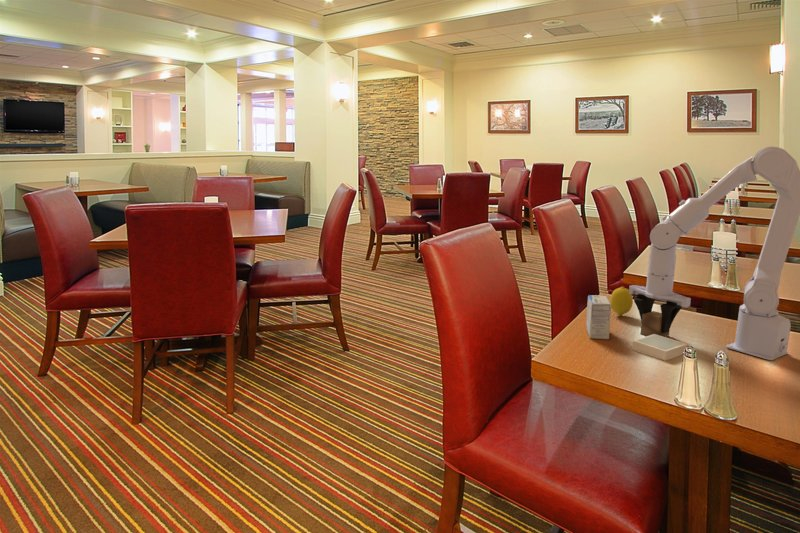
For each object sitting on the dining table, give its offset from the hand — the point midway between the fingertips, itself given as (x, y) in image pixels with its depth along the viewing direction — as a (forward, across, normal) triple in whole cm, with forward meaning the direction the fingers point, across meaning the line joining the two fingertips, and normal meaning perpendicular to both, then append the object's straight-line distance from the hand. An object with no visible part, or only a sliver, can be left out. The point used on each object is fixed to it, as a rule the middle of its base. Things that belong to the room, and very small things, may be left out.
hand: (655, 329), depth 136 cm
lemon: (+2, -14, +6) cm, 15 cm away
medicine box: (+2, -8, -11) cm, 14 cm away
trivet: (+2, +7, -9) cm, 12 cm away
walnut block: (+1, 0, 0) cm, 1 cm away
